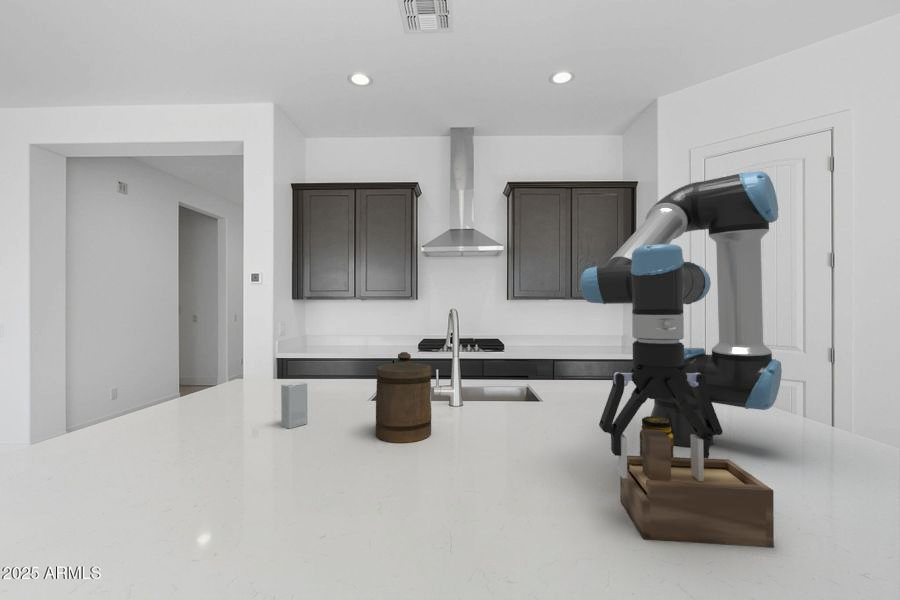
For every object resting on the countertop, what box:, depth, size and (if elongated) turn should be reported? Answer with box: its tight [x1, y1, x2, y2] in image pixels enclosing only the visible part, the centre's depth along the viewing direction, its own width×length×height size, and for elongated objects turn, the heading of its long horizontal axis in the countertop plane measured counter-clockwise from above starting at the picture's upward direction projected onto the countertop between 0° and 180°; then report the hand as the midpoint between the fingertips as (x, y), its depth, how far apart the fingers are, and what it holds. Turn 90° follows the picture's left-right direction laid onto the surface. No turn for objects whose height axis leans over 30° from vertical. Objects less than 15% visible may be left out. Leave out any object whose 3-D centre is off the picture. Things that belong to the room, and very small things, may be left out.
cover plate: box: [629, 429, 744, 495], centre depth 68 cm, size 10×15×8 cm, turn 83°
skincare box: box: [280, 381, 308, 429], centre depth 121 cm, size 6×4×12 cm
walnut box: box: [619, 454, 775, 548], centre depth 68 cm, size 12×18×8 cm, turn 83°
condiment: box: [639, 415, 674, 457], centre depth 85 cm, size 7×8×12 cm
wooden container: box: [375, 351, 432, 444], centre depth 113 cm, size 15×15×22 cm
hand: (659, 476), depth 68 cm, fingers open, 11 cm apart
